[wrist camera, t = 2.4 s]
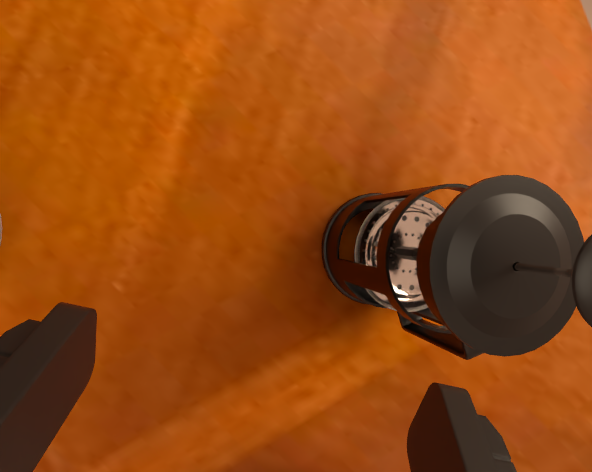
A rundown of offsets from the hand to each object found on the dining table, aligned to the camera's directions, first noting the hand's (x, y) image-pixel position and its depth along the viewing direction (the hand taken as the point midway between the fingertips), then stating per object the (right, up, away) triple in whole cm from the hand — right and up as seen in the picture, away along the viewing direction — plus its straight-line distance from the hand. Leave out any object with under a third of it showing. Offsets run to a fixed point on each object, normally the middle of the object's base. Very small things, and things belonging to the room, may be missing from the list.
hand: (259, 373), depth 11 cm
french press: (+8, +2, +28) cm, 29 cm away
